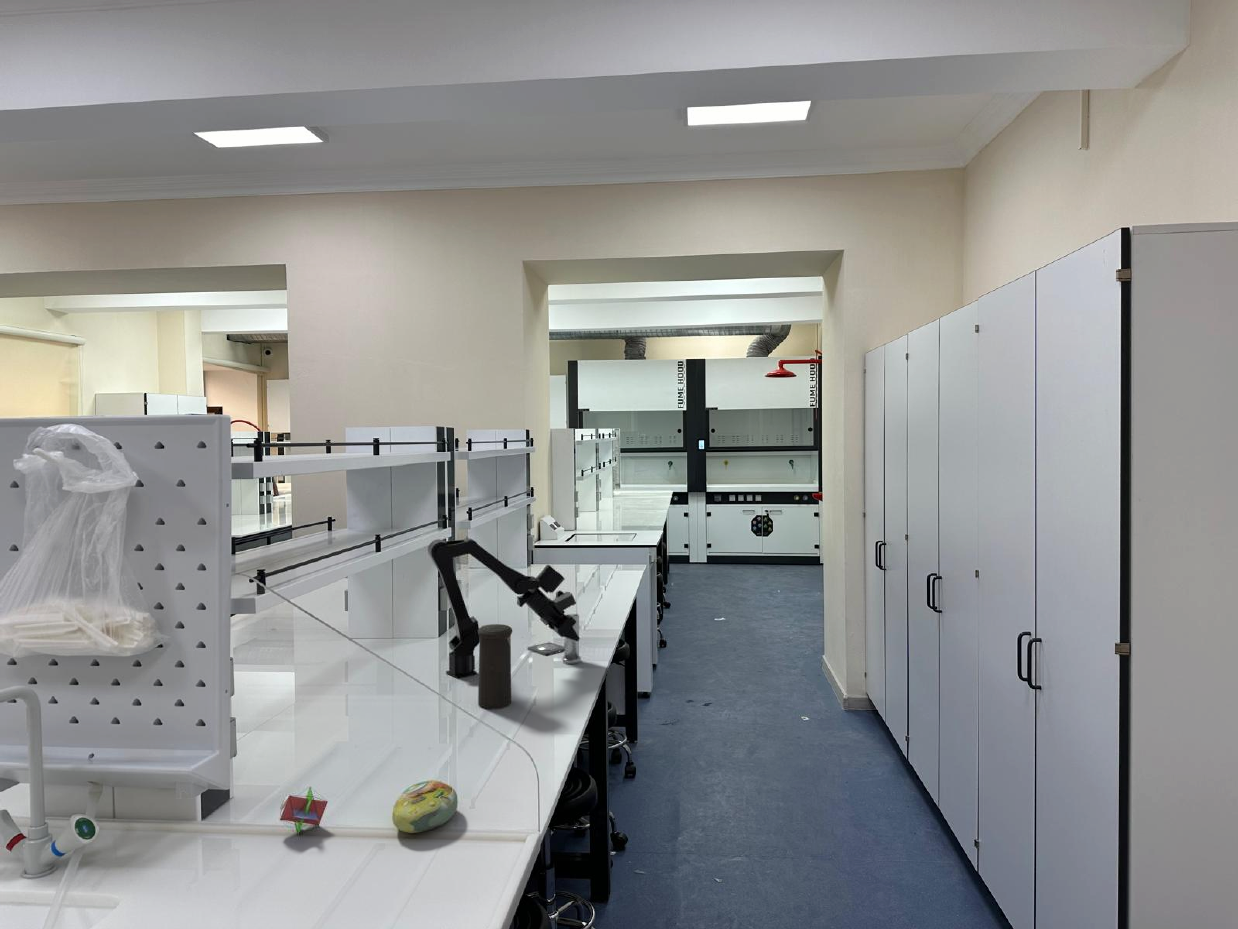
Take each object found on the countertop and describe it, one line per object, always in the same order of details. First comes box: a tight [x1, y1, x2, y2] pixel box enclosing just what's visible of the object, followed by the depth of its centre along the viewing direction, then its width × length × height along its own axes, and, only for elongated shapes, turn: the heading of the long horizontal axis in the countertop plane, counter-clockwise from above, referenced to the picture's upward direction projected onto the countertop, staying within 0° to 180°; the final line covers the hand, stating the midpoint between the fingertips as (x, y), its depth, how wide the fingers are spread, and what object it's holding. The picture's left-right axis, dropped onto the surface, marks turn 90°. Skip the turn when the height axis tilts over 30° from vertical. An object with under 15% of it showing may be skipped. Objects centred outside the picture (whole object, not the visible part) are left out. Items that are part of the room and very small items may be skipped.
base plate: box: [526, 641, 564, 656], centre depth 247 cm, size 9×9×1 cm
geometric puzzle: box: [279, 787, 329, 837], centre depth 134 cm, size 7×7×8 cm
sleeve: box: [561, 613, 582, 665], centre depth 234 cm, size 6×6×14 cm
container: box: [477, 623, 513, 710], centre depth 197 cm, size 9×9×20 cm
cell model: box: [391, 779, 459, 834], centre depth 138 cm, size 11×8×15 cm
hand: (576, 638), depth 235 cm, fingers closed on sleeve, 4 cm apart
